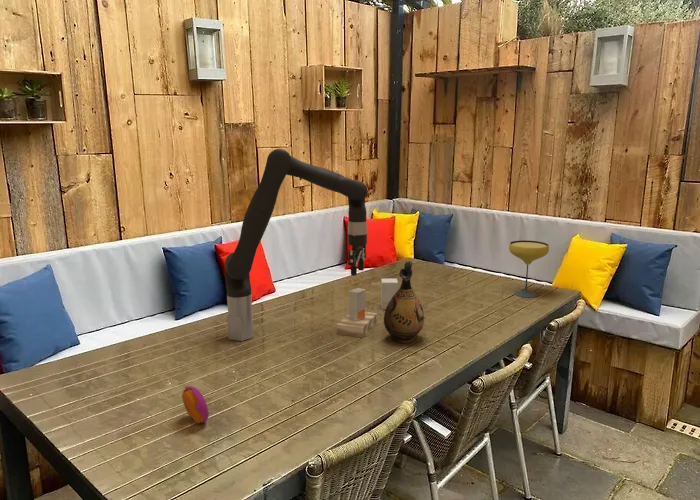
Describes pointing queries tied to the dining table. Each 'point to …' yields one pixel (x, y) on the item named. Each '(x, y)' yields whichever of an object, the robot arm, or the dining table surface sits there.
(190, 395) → the donut
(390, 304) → the ceramic jug
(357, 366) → the dining table surface
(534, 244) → the cocktail glass
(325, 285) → the dining table surface
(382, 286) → the supplement box
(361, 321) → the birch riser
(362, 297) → the skincare box
